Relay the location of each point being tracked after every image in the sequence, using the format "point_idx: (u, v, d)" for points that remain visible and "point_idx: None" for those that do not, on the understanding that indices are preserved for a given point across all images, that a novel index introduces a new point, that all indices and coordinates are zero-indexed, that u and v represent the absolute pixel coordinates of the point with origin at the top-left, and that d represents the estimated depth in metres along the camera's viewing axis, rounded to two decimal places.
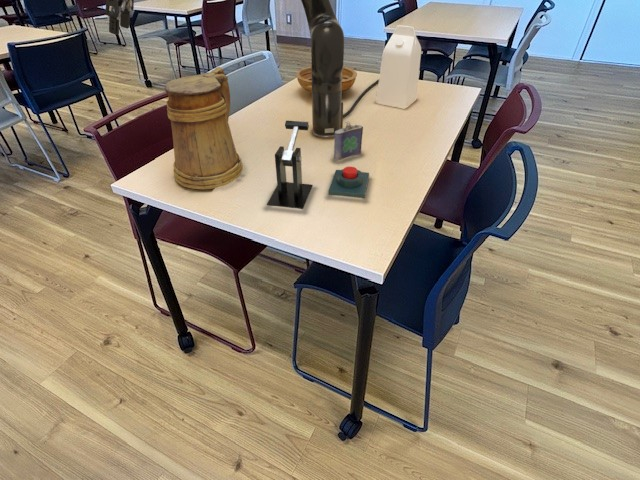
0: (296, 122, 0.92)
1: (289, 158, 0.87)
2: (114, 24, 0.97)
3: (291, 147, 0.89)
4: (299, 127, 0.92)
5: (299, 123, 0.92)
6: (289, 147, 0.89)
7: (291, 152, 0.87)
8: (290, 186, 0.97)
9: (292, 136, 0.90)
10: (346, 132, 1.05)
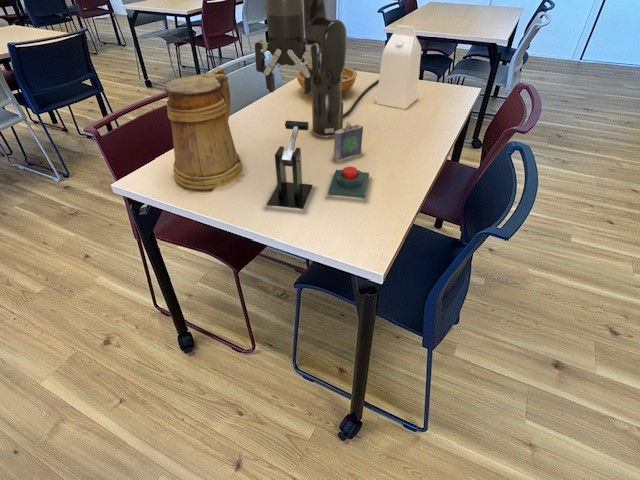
0: (296, 122, 0.92)
1: (289, 158, 0.87)
2: (312, 81, 0.85)
3: (291, 147, 0.89)
4: (299, 127, 0.92)
5: (299, 123, 0.92)
6: (289, 147, 0.89)
7: (291, 152, 0.87)
8: (290, 186, 0.97)
9: (292, 136, 0.90)
10: (346, 132, 1.05)
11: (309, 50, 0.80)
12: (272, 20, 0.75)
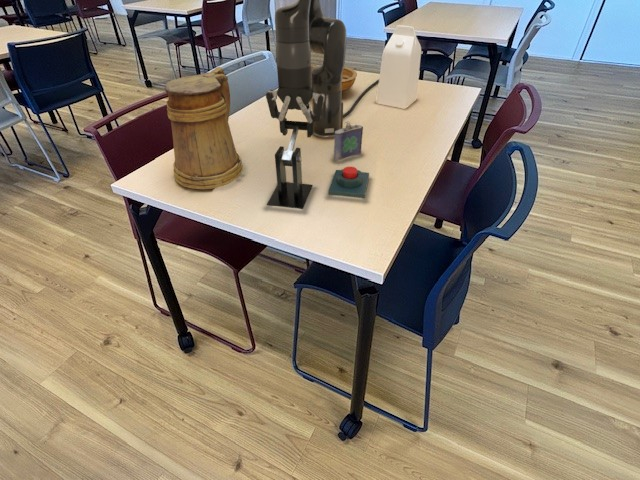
0: (296, 122, 0.92)
1: (289, 158, 0.87)
2: (313, 125, 0.92)
3: (291, 147, 0.89)
4: (299, 127, 0.92)
5: (299, 123, 0.92)
6: (289, 147, 0.89)
7: (291, 152, 0.87)
8: (290, 186, 0.97)
9: (292, 136, 0.90)
10: (346, 132, 1.05)
11: (315, 99, 0.87)
12: (283, 72, 0.82)
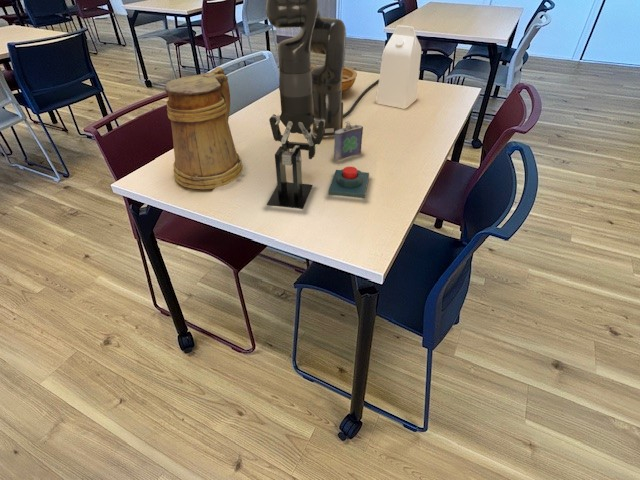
0: (298, 142, 0.96)
1: (290, 154, 0.87)
2: None
3: None
4: (301, 146, 0.96)
5: (301, 143, 0.96)
6: None
7: (292, 152, 0.88)
8: (290, 186, 0.97)
9: (294, 148, 0.93)
10: (346, 132, 1.05)
11: (316, 123, 0.91)
12: (285, 100, 0.86)
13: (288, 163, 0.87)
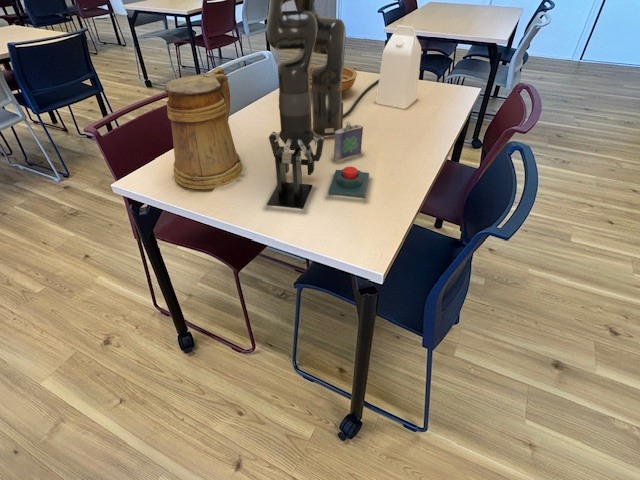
0: None
1: None
2: (313, 164, 0.98)
3: None
4: None
5: (301, 159, 0.98)
6: None
7: None
8: (290, 186, 0.97)
9: None
10: (346, 132, 1.05)
11: (315, 141, 0.93)
12: (285, 118, 0.88)
13: (288, 161, 0.87)
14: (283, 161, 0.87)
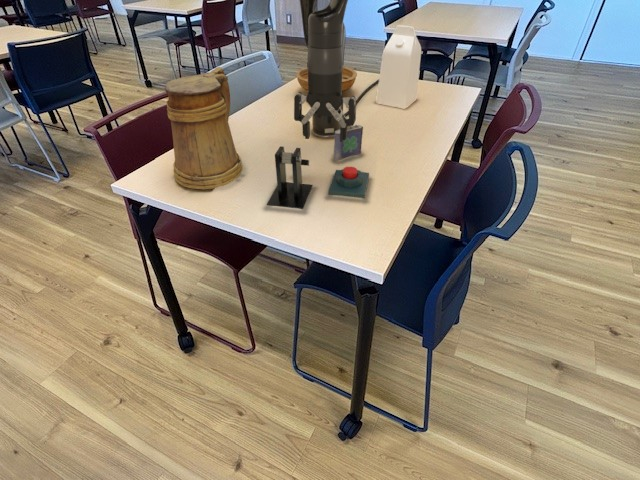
0: None
1: None
2: None
3: None
4: None
5: (301, 159, 0.98)
6: None
7: None
8: (290, 186, 0.97)
9: None
10: None
11: (346, 103, 0.85)
12: (314, 78, 0.80)
13: (288, 161, 0.87)
14: (283, 161, 0.87)
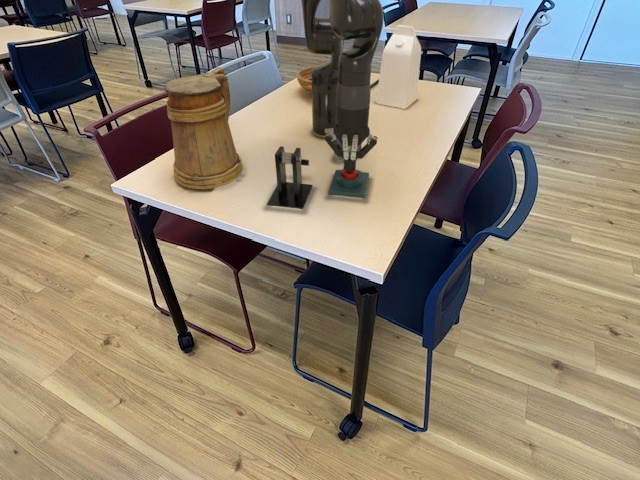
0: None
1: None
2: (355, 162, 0.94)
3: None
4: None
5: (301, 159, 0.98)
6: None
7: None
8: (290, 186, 0.97)
9: None
10: None
11: (369, 139, 0.89)
12: (343, 112, 0.83)
13: (288, 161, 0.87)
14: (283, 161, 0.87)
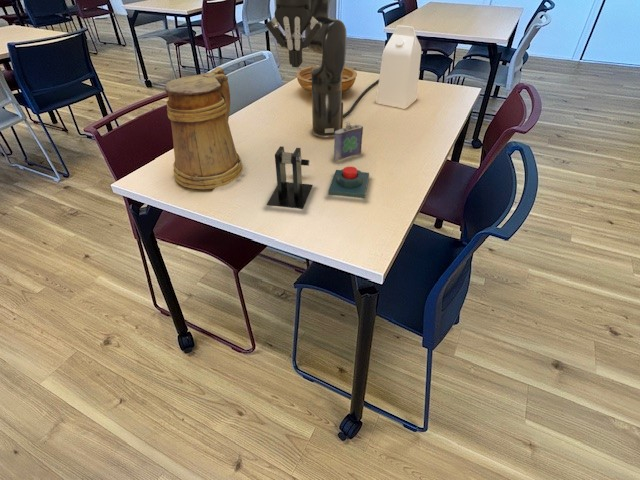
0: None
1: None
2: (301, 54, 0.88)
3: None
4: None
5: (301, 159, 0.98)
6: None
7: None
8: (290, 186, 0.97)
9: None
10: (346, 132, 1.05)
11: (312, 24, 0.83)
12: None
13: (288, 161, 0.87)
14: (283, 161, 0.87)
